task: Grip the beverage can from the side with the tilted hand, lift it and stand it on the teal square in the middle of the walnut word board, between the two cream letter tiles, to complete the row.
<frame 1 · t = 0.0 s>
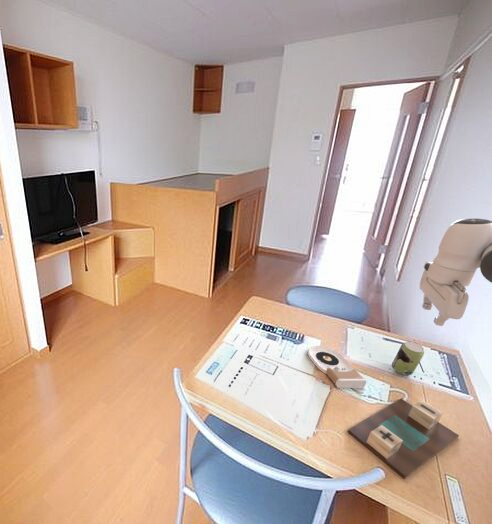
hand: (431, 316, 92), 27 cm above the table, tool pointing down, fingers open, 8 cm apart
record player: (332, 367, 109), on the table
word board: (401, 434, 84), on the table
beverage can: (401, 372, 107), on the table
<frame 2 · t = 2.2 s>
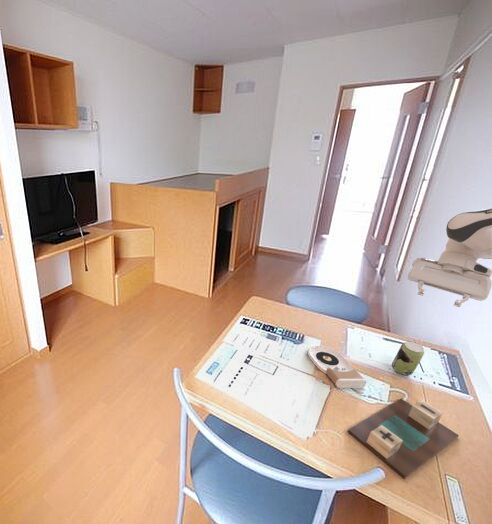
hand: (437, 300, 103), 25 cm above the table, tool tilted 40°, fingers open, 8 cm apart
nothing on the table moved.
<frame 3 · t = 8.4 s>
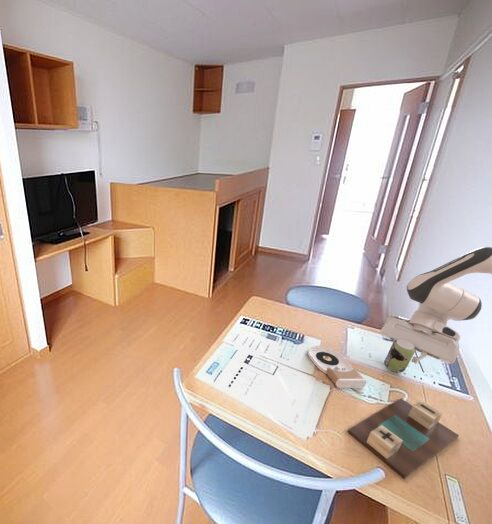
hand: (407, 359, 104), 6 cm above the table, tool tilted 45°, fingers closed on beverage can, 2 cm apart
beverage can: (394, 369, 108), on the table, touching gripper
everything else where it was.
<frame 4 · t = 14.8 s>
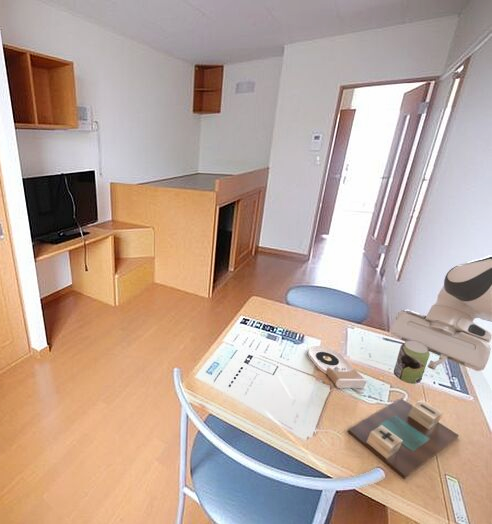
hand: (423, 364, 84), 18 cm above the table, tool tilted 45°, fingers closed on beverage can
beverage can: (408, 380, 87), point 12 cm above the table, touching gripper
everything else where it was.
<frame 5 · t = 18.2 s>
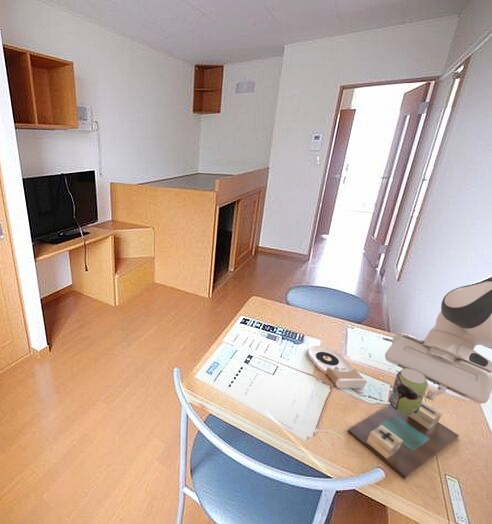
hand: (421, 394, 78), 15 cm above the table, tool tilted 45°, fingers closed on beverage can
beverage can: (405, 410, 81), point 9 cm above the table, touching gripper
everything else where it was.
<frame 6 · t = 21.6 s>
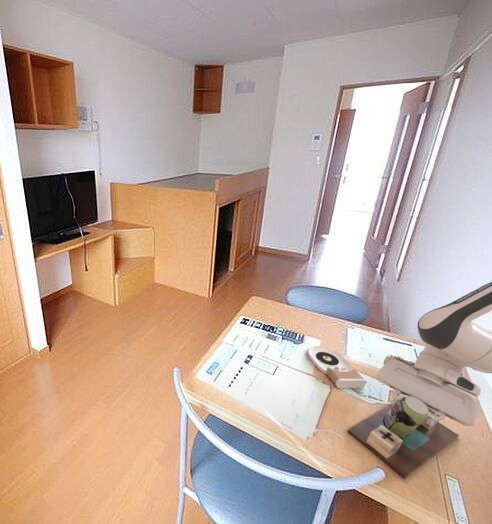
hand: (410, 416, 81), 8 cm above the table, tool tilted 45°, fingers open, 6 cm apart
beverage can: (395, 431, 84), point 1 cm above the table, touching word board
everything else where it was.
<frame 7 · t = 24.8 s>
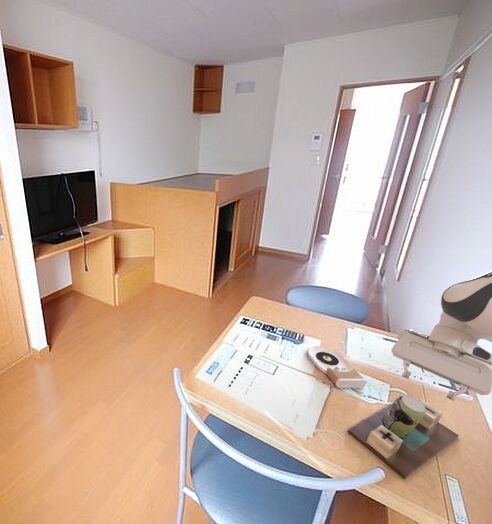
hand: (426, 387, 82), 14 cm above the table, tool tilted 45°, fingers open, 8 cm apart
nothing on the table moved.
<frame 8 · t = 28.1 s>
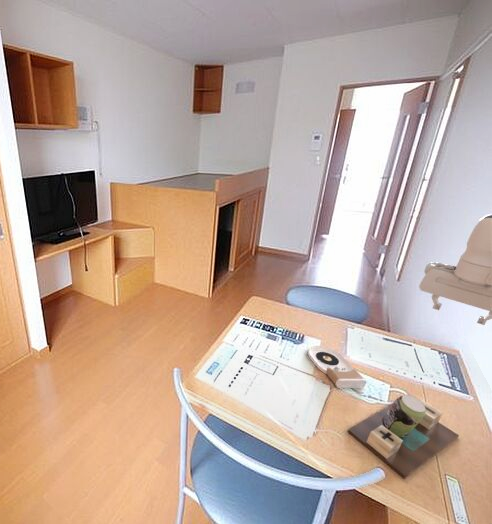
hand: (457, 315, 87), 29 cm above the table, tool pointing down, fingers open, 8 cm apart
nothing on the table moved.
at the end: beverage can 2.0 cm off-centre on the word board, point 0.9 cm above the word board's base; beverage can tilted 0°; the gripper is holding nothing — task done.
